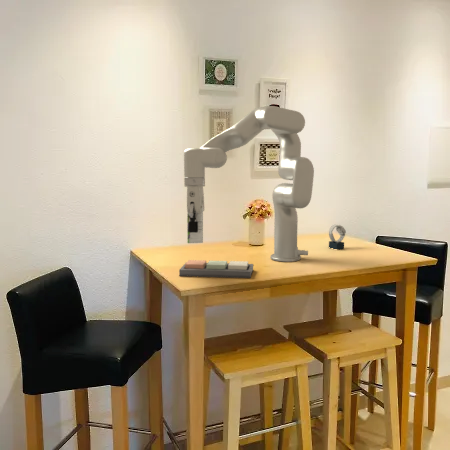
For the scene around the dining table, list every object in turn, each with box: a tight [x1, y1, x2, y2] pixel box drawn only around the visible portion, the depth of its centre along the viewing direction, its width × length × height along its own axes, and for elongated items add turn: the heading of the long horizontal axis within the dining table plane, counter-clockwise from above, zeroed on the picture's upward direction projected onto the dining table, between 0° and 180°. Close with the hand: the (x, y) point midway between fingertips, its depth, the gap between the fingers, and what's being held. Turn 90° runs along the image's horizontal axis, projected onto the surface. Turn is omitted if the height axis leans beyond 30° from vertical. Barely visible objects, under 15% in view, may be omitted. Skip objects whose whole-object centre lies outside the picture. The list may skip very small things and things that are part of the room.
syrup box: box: [186, 205, 204, 244], centre depth 183 cm, size 6×6×14 cm
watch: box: [328, 224, 347, 250], centre depth 228 cm, size 6×8×11 cm
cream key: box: [228, 260, 249, 270], centre depth 184 cm, size 7×7×2 cm
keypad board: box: [178, 261, 254, 279], centre depth 185 cm, size 26×12×2 cm, turn 82°
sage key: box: [206, 260, 228, 269], centre depth 185 cm, size 7×7×2 cm
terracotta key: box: [184, 259, 207, 269], centre depth 186 cm, size 7×7×2 cm
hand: (195, 230), depth 184 cm, fingers closed on syrup box, 6 cm apart
